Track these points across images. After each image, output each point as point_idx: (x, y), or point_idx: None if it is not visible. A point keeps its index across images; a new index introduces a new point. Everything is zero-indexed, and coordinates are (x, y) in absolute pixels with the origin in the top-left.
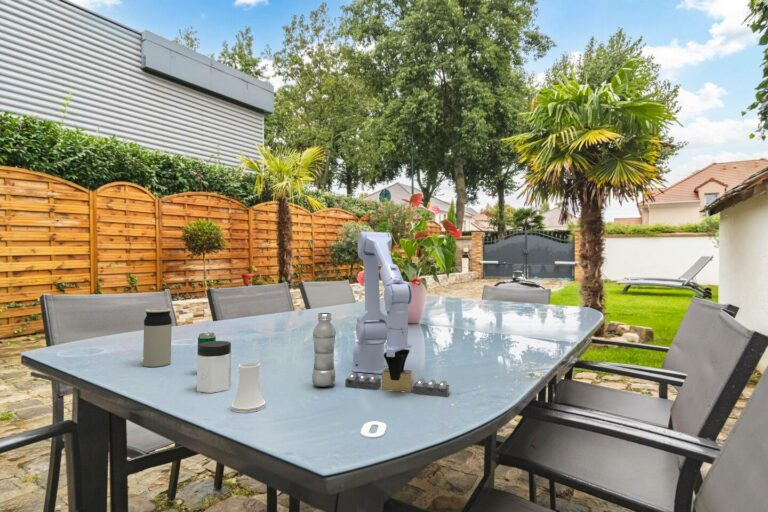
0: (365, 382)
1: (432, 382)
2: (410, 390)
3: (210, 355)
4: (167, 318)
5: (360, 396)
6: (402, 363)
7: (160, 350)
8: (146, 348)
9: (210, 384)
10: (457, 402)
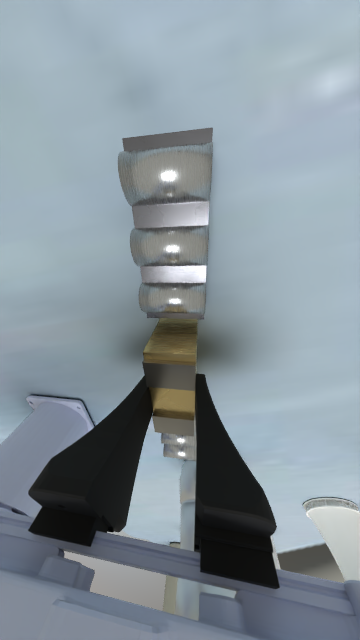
0: None
1: (178, 239)
2: (197, 320)
3: None
4: None
5: (257, 412)
6: (135, 417)
7: None
8: None
9: (274, 544)
10: (297, 49)
